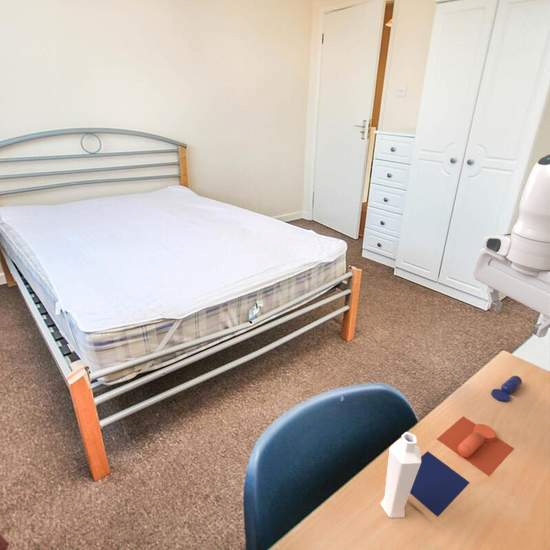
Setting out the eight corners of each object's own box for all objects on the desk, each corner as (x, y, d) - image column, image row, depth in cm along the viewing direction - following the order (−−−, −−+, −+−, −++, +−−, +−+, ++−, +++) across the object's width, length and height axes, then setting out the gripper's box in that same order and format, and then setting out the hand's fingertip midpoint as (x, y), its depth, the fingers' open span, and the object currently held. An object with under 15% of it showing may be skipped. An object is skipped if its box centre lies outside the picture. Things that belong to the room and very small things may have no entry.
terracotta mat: (462, 418, 79) (463, 416, 79) (513, 450, 72) (514, 448, 72) (435, 441, 73) (436, 438, 73) (488, 478, 66) (489, 476, 66)
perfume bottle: (415, 515, 60) (434, 445, 54) (392, 525, 58) (408, 454, 52) (396, 489, 64) (412, 422, 58) (374, 498, 62) (388, 429, 56)
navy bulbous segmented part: (508, 379, 91) (511, 370, 90) (524, 387, 88) (527, 379, 87) (487, 397, 85) (490, 388, 84) (504, 406, 82) (507, 398, 81)
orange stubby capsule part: (469, 464, 68) (472, 455, 67) (450, 451, 70) (453, 441, 69) (497, 436, 74) (500, 427, 73) (478, 425, 76) (481, 416, 76)
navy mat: (427, 453, 71) (427, 450, 70) (469, 484, 65) (469, 482, 65) (394, 482, 65) (394, 479, 65) (436, 519, 59) (437, 516, 59)
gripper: (616, 273, 57) (583, 350, 62) (501, 232, 74) (484, 295, 80) (586, 278, 55) (556, 356, 61) (476, 235, 73) (460, 299, 78)
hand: (514, 321), depth 71 cm, fingers open, 8 cm apart
